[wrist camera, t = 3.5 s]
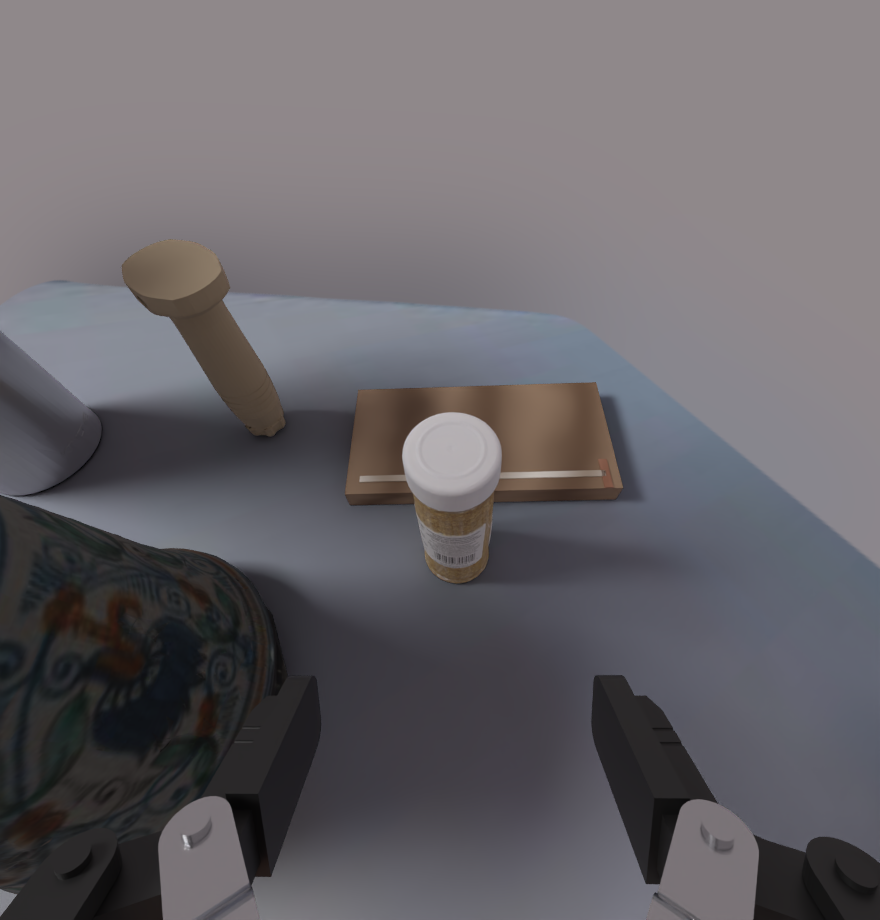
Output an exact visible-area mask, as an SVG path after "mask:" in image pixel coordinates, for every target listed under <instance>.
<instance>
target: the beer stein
mask: <svg viewBox="0 0 880 920" xmlns="http://www.w3.org/2000/svg"><path fill="white" fill-rule="evenodd" d="M287 677H288V675H287V671H286V667H285V663H284V659H283V655H282V651H281V647H280V643H279V639H278V635H277V631H276V627H275V623H274V619H273V615H272V614H271V613H270V611H269V610H268V609H267V608H266V607H265V605H264V603H263V601H262V599H261V597H260V595H259V593H258V591H257V590H256V588H255V587H254V586H253V584H252V583H251V582H250V581H249V579H248V578H247V577H246V576H245V575H244V574H242V573H241V572H240V571H239V570H238V569H237V568H235V567H234V566H232V565H231V564H229V563H227V562H226V561H224V560H222V559H221V558H219V557H217V556H214V555H210V554H207V553H203V552H199V551H194V550H189V549H175V548H168V549H158V548H155V547H150V546H147V545H143V544H140V543H137V542H134V541H131V540H128V539H125V538H123V537H121V536H119V535H116V534H111V533H109V532H106V531H103V530H101V529H98V528H95V527H92V526H89V525H86V524H84V523H81V522H79V521H76V520H74V519H71V518H67V517H64V516H61V515H58V514H55V513H52V512H49V511H47V510H44V509H42V508H39V507H36V506H32V505H29V504H26V503H23V502H21V501H18V500H15V499H12V498H8V497H4V496H1V495H0V889H2V890H4V891H7V892H11V893H14V894H17V895H18V893H19V892H20V891H21V889H22V888H23V887H24V885H25V884H26V883H27V882H28V880H29V879H30V878H31V876H32V875H33V874H34V872H35V871H36V870H37V869H38V867H39V866H40V865H41V864H42V862H43V861H44V860H45V859H46V858H47V857H48V856H49V855H50V854H51V853H52V852H53V851H54V850H55V849H57V848H58V847H59V846H60V845H62V844H63V843H64V842H66V841H67V840H69V839H71V838H72V837H74V836H76V835H78V834H80V833H82V832H85V831H87V830H91V829H95V828H107V829H110V830H112V831H113V832H114V833H115V834H116V837H117V841H118V844H121V843H124V842H127V841H130V840H133V839H137V838H140V837H143V836H146V835H150V834H153V833H156V832H159V831H161V830H163V829H164V828H165V826H166V825H167V824H168V822H169V821H170V820H171V819H172V817H173V816H174V815H175V814H176V813H178V812H179V811H180V810H181V809H182V808H184V807H185V806H187V805H188V804H190V803H192V802H194V801H196V800H198V799H200V798H201V797H202V795H203V794H204V792H205V790H206V788H207V787H208V785H209V783H210V782H211V780H212V778H213V776H214V775H215V773H216V771H217V769H218V768H219V766H220V764H221V763H222V761H223V759H224V757H225V756H226V754H227V752H228V751H229V749H230V747H231V745H232V744H234V741H235V738H236V737H237V735H238V733H239V732H240V730H242V726H243V725H244V723H245V721H246V719H247V718H248V716H249V714H250V713H251V711H252V709H254V708H255V707H256V706H257V705H258V704H259V703H260V702H261V701H262V700H263V699H264V698H265V697H267V696H277V695H278V693H279V691H280V689H281V687H282V685H283V684H284V682H285V680H286V678H287Z"/></svg>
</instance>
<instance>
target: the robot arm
mask: <svg viewBox="0 0 880 920" xmlns="http://www.w3.org/2000/svg"><path fill="white" fill-rule="evenodd" d="M101 431H102V427H101V422H100V420H99V418H98V417H97V415H96V414H95V413H94V412H92V411H91V410H90V409H89V408H88V407H87V406H86V405H84V404H83V403H82V402H81V401H80V400H79V399H78V398H76V397H75V396H74V395H73V394H72V393H71V392H70V391H68V390H67V389H66V388H65V387H64V386H63V385H62V384H61V383H60V382H59V381H57V380H56V379H55V378H54V377H53V376H52V375H51V374H49V373H48V372H47V371H46V370H45V369H44V368H42V367H41V366H40V365H39V364H38V363H37V362H36V361H34V360H33V359H32V358H31V357H30V356H29V355H28V354H26V353H25V352H24V351H23V350H22V349H21V348H19V347H18V346H17V345H16V344H15V343H14V342H13V341H11V340H10V339H9V338H8V337H7V336H6V335H5V334H3V333H2V332H1V331H0V493H2V494H7V495H27V494H32V493H36V492H39V491H42V490H45V489H48V488H50V487H52V486H54V485H56V484H58V483H60V482H62V481H63V480H65V479H66V478H68V477H69V476H71V475H72V474H74V473H75V472H76V471H77V470H78V469H79V468H81V467H82V466H83V465H84V464H85V463H86V461H87V460H88V459H89V458H90V457H91V456H92V454H93V452H94V451H95V449H96V448H97V446H98V443H99V441H100V438H101ZM320 732H321V715H320V706H319V697H318V687H317V680H316V677H315V676H288V677H287V678H286V680H285V682H284V684H283V685H282V687H281V689H280V691H279V693H278V695H277V696H267V697H265V698H264V699H263V700H262V701H261V702H260V703H259V704H258V705H257V706H256V707H255V708H254V709H252V711H251V713H250V714H249V716H248V718H247V719H246V721H245V723H244V725H243V726H242V730H240V732H239V733H238V735H237V737H236V738H235V741H234V744H232V745H231V747H230V749H229V751H228V752H227V754H226V756H225V757H224V759H223V761H222V763H221V764H220V766H219V768H218V769H217V771H216V773H215V775H214V776H213V778H212V780H211V782H210V783H209V785H208V787H207V788H206V790H205V792H204V794H203V795H202V797H201V798H200V799H198V800H196V801H194V802H192V803H190V804H188V805H187V806H185V807H184V808H182V809H181V810H180V811H179V812H178V813H176V814H175V815H174V816H173V817H172V819H171V820H170V821H169V822H168V824H167V825H166V826H165V828H164V829H163V830H161V831H159V832H156V833H153V834H150V835H146V836H143V837H140V838H137V839H133V840H130V841H127V842H124V843H121V844H118V841H117V837H116V834H115V833H114V832H113V831H112V830H110V829H107V828H95V829H91V830H87V831H85V832H82V833H80V834H78V835H76V836H74V837H72V838H71V839H69V840H67V841H66V842H64V843H63V844H62V845H60V846H59V847H58V848H57V849H55V850H54V851H53V852H52V853H51V854H50V855H49V856H48V857H47V858H46V859H45V860H44V861H43V862H42V864H41V865H40V866H39V867H38V869H37V870H36V871H35V872H34V874H33V875H32V876H31V878H30V879H29V880H28V882H27V883H26V884H25V885H24V887H23V888H22V889H21V891H20V892H19V893H18V895H17V896H16V897H15V898H14V900H13V901H12V902H11V904H10V905H9V906H8V908H7V909H6V910H5V911H4V913H3V914H2V915H1V917H0V920H260V917H259V913H258V909H257V905H256V901H255V897H254V893H253V889H252V887H251V885H252V883H253V880H254V877H271V875H272V872H273V870H274V867H275V864H276V861H277V858H278V856H279V853H280V850H281V847H282V844H283V842H284V839H285V836H286V833H287V830H288V827H289V825H290V822H291V819H292V816H293V813H294V811H295V808H296V805H297V802H298V799H299V797H300V794H301V791H302V788H303V785H304V782H305V780H306V777H307V774H308V771H309V768H310V766H311V763H312V760H313V757H314V754H315V752H316V749H317V746H318V742H319V738H320ZM592 733H593V738H594V743H595V746H596V749H597V752H598V755H599V757H600V760H601V763H602V765H603V768H604V771H605V774H606V776H607V779H608V782H609V785H610V787H611V790H612V793H613V795H614V798H615V801H616V804H617V806H618V809H619V812H620V815H621V817H622V820H623V823H624V825H625V828H626V831H627V834H628V836H629V839H630V842H631V845H632V847H633V850H634V853H635V855H636V858H637V861H638V864H639V866H640V869H641V872H642V875H643V877H644V880H645V883H646V884H660V886H659V890H658V893H654V895H653V898H652V901H651V904H650V908H649V911H648V915H647V919H646V920H880V863H879V862H877V861H876V860H875V859H874V858H872V857H871V856H870V855H868V854H867V853H865V852H864V851H862V850H860V849H859V848H857V847H855V846H853V845H851V844H849V843H847V842H844V841H842V840H839V839H835V838H831V837H818V838H814V839H813V840H811V841H810V842H809V843H808V846H807V849H806V853H805V852H802V851H799V850H795V849H792V848H789V847H786V846H783V845H779V844H776V843H773V842H770V841H767V840H764V839H762V838H760V837H757V836H755V835H753V834H752V832H751V831H750V830H749V828H748V827H747V826H746V824H745V823H744V822H743V821H742V820H741V819H740V818H739V817H737V816H736V815H735V814H734V813H732V812H731V811H730V810H728V809H726V808H725V807H723V806H721V805H719V804H718V803H717V801H716V800H715V798H714V796H713V795H712V793H711V791H710V790H709V788H708V786H707V785H706V783H705V781H704V779H703V778H702V776H701V774H700V773H699V771H698V769H697V768H696V766H695V764H694V763H693V761H692V759H691V758H690V756H689V754H688V753H687V751H686V749H685V748H684V746H682V744H681V741H680V739H679V738H678V736H677V734H676V732H675V731H673V727H672V726H671V724H670V722H669V721H668V719H667V717H666V716H665V714H664V712H663V711H662V710H661V709H660V708H659V707H658V706H657V705H656V704H655V703H653V702H652V701H651V700H650V699H649V698H648V697H647V696H635V695H634V694H633V692H632V690H631V688H630V686H629V684H628V682H627V681H626V679H625V677H624V676H622V675H596V676H595V677H594V684H593V702H592Z"/></svg>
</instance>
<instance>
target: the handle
mask: <svg viewBox="0 0 880 920" xmlns="http://www.w3.org/2000/svg"><path fill="white" fill-rule="evenodd" d="M122 273H123V279H124V282H125V283H126V285H127V286H128V288H129V289H130V290H131V292H132V293H133V294H134V296H135V297H136V298H137V300H138V301H139V302H140V303H142V304H143V305H144V306H145V307H146V308H147V309H148V310H149V311H150V312H151V313H153V314H155V315H160V316H166V317H170V319H171V320H172V321H173V323H174V324H175V326H176V327H177V329H178V330H179V332H180V334H181V335H182V337H183V338H184V340H185V341H186V343H187V345H188V346H189V348H190V349H191V351H192V353H193V354H194V356H195V357H196V359H197V361H198V362H199V364H200V366H201V367H202V369H203V371H204V372H205V374H206V375H207V377H208V379H209V380H210V382H211V384H212V385H213V387H214V389H215V390H216V391H217V393H218V394H219V395H220V397H221V398H222V399H223V401H224V402H225V403H226V405H227V406H228V407H229V408H230V409H231V411H232V412H233V413H234V414H235V415H236V416H237V417H238V418H239V419H240V420H241V421H242V422H243V423H244V424H245V427H246V428H247V429H248V430H249V431H250V432H251V433H252V434H254V435H256V436H259V435H267V436H269V437H271V436H274V435H275V433H276V432H277V431H278V430H280V429H282V428H283V427H284V426H285V424H286V423H285V420H284V417H283V415H284V412H283V409H282V406H281V404H280V400H279V397H278V395H277V392H276V390H275V388H274V385H273V383H272V381H271V379H270V377H269V375H268V373H267V371H266V369H265V368H264V366H263V364H262V363H261V361H260V359H259V358H258V356H257V355H256V353H255V352H254V350H253V349H252V347H251V345H250V344H249V342H248V341H247V339H246V338H245V336H244V335H243V333H242V331H241V330H240V328H239V327H238V325H237V323H236V322H235V320H234V319H233V317H232V315H231V314H230V312H229V311H228V309H227V307H226V306H225V304H224V302H223V300H222V299H223V298H224V297H225V295H226V294H227V292H228V291H229V289H230V286H229V282H228V279H227V277H226V274H225V272H224V270H223V267H222V265H221V263H220V262H219V260H218V258H217V256H216V254H215V253H213V252H212V251H211V250H209V249H207V248H206V247H204V246H202V245H200V244H198V243H195V242H191V241H182V240H173V239H169V240H164V241H160V242H157V243H154V244H152V245H149V246H147V247H145V248H143V249H141V250H139V251H138V252H136V253H134V254H133V255H132V256H130V257H129V258H128V259H127V260H126V261H125V262H124V263H123V264H122Z"/></svg>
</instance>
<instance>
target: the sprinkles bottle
mask: <svg viewBox="0 0 880 920" xmlns="http://www.w3.org/2000/svg"><path fill="white" fill-rule="evenodd" d="M402 460H403V466H404V471H405V476H406V480H407V483H408V486H409V488H410V490H411V491H412V493H413V496H414V500H415V510H416V515H417V519H418V524H419V528H420V533H421V537H422V542H423V545H424V548H425V559H426V562H427V564H428V567H429V569H430V570H431V571H432V573H433V574H435V575H436V576H437V577H438V578H440V579H441V580H443V581H446V582H449V583H465V582H468V581H470V580H472V579H474V578H475V577H477V576H479V574H480V573H481V572H482V571H483V570H484V568H485V567H486V564H487V561H488V558H489V547H488V545H489V543H490V537H491V529H492V511H493V501H494V490H495V488H496V486H497V484H498V482H499V478H500V472H501V461H502V450H501V445H500V442H499V439H498V437H497V435H496V434H495V432H494V431H493V430H492V429H491V427H490V426H489V425H487V424H486V423H485V422H484V421H482V420H480V419H479V418H477V417H474V416H472V415H468V414H464V413H457V412H447V413H441V414H437V415H434V416H431V417H429V418H427V419H425V420H423V421H422V422H420V423H419V424H418V425H417V426H415V427H414V428H413V430H412V431H411V432H410V433H409V435H408V436H407V438H406V440H405V443H404V446H403V452H402Z"/></svg>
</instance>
